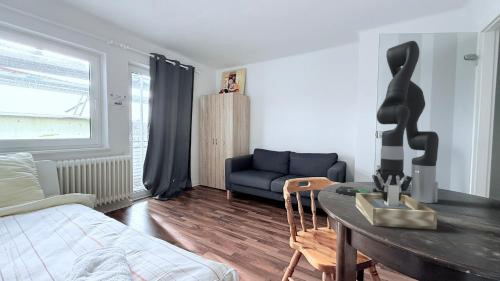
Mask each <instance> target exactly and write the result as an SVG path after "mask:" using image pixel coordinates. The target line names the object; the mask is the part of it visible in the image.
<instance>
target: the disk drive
mask: <svg viewBox="0 0 500 281" xmlns="http://www.w3.org/2000/svg"><path fill="white" fill-rule="evenodd" d="M336 193H339V194H338V195H341V194H343V196H347V195H348V197H352V196H354V198H356V193H368V194H371V191H370V189H369V190H368V189H364V188H359V187H357V188H356V187H351V186H350V187H349V186H343V185H342V186H339V187H337V188H336V189H335V194H336Z"/></svg>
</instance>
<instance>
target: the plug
mask: <svg viewBox="0 0 500 281" xmlns="http://www.w3.org/2000/svg"><path fill="white" fill-rule="evenodd" d="M387 192H388V193H387V201H384V204H386V205H387V206H399V186H397V185H395V184H394V183H391V184H390V185H388V190H387Z"/></svg>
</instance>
